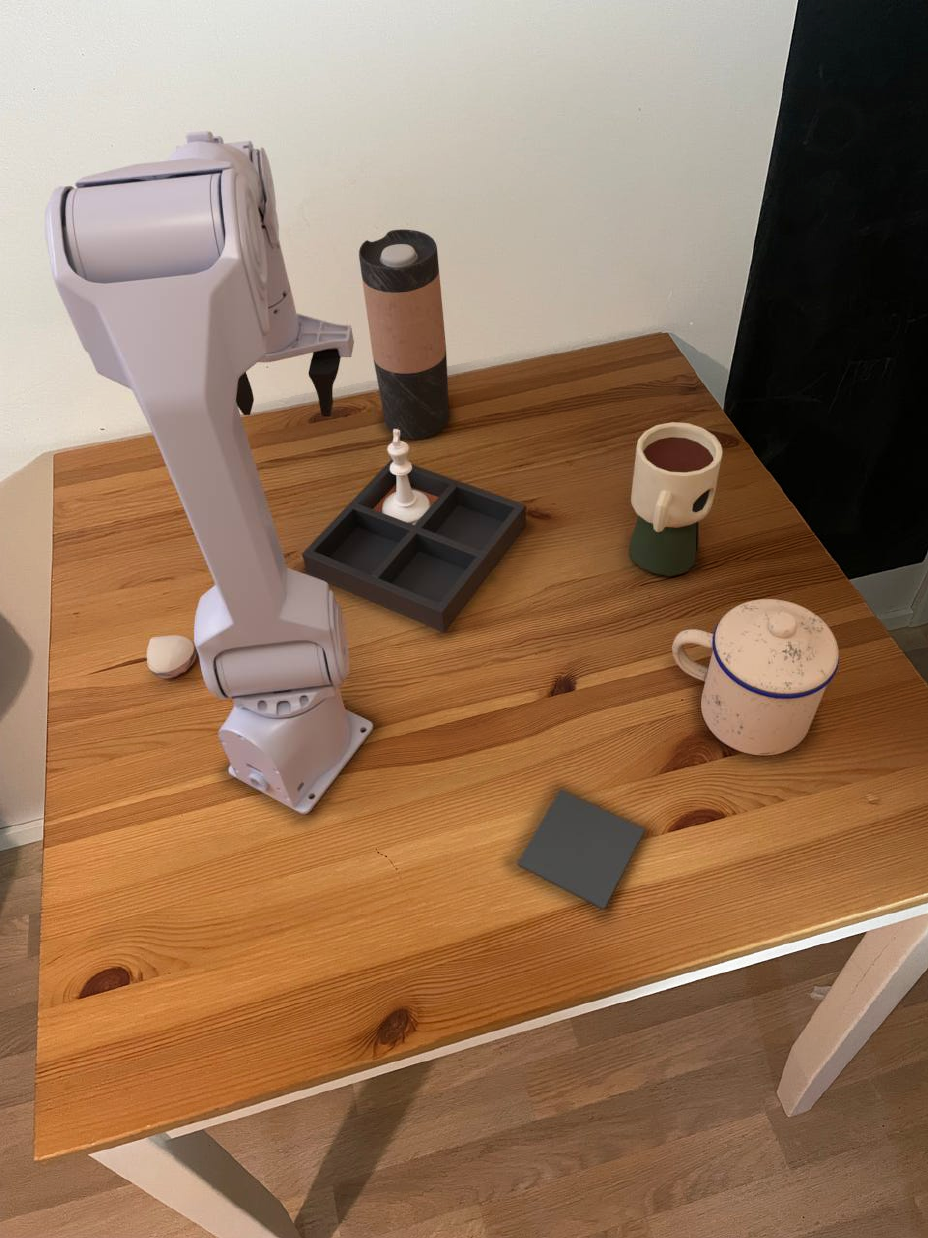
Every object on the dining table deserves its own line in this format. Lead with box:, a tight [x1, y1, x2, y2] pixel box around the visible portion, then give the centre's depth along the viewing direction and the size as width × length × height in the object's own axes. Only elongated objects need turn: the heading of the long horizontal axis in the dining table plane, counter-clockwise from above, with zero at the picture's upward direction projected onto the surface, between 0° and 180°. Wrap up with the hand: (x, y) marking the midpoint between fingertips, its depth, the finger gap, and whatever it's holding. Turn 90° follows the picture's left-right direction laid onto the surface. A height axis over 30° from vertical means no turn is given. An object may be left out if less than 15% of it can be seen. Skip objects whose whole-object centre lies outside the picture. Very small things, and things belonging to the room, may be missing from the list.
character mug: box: [628, 421, 723, 577], centre depth 82 cm, size 11×7×13 cm, turn 158°
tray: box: [301, 458, 527, 633], centre depth 88 cm, size 15×15×3 cm
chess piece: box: [382, 429, 431, 525], centre depth 88 cm, size 5×5×10 cm
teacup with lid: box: [671, 598, 840, 756], centre depth 71 cm, size 12×9×12 cm
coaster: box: [516, 789, 646, 911], centre depth 68 cm, size 7×7×1 cm
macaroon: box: [146, 634, 198, 679], centre depth 81 cm, size 4×5×2 cm
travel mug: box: [358, 228, 450, 441], centre depth 95 cm, size 8×8×20 cm
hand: (288, 408), depth 88 cm, fingers open, 7 cm apart
